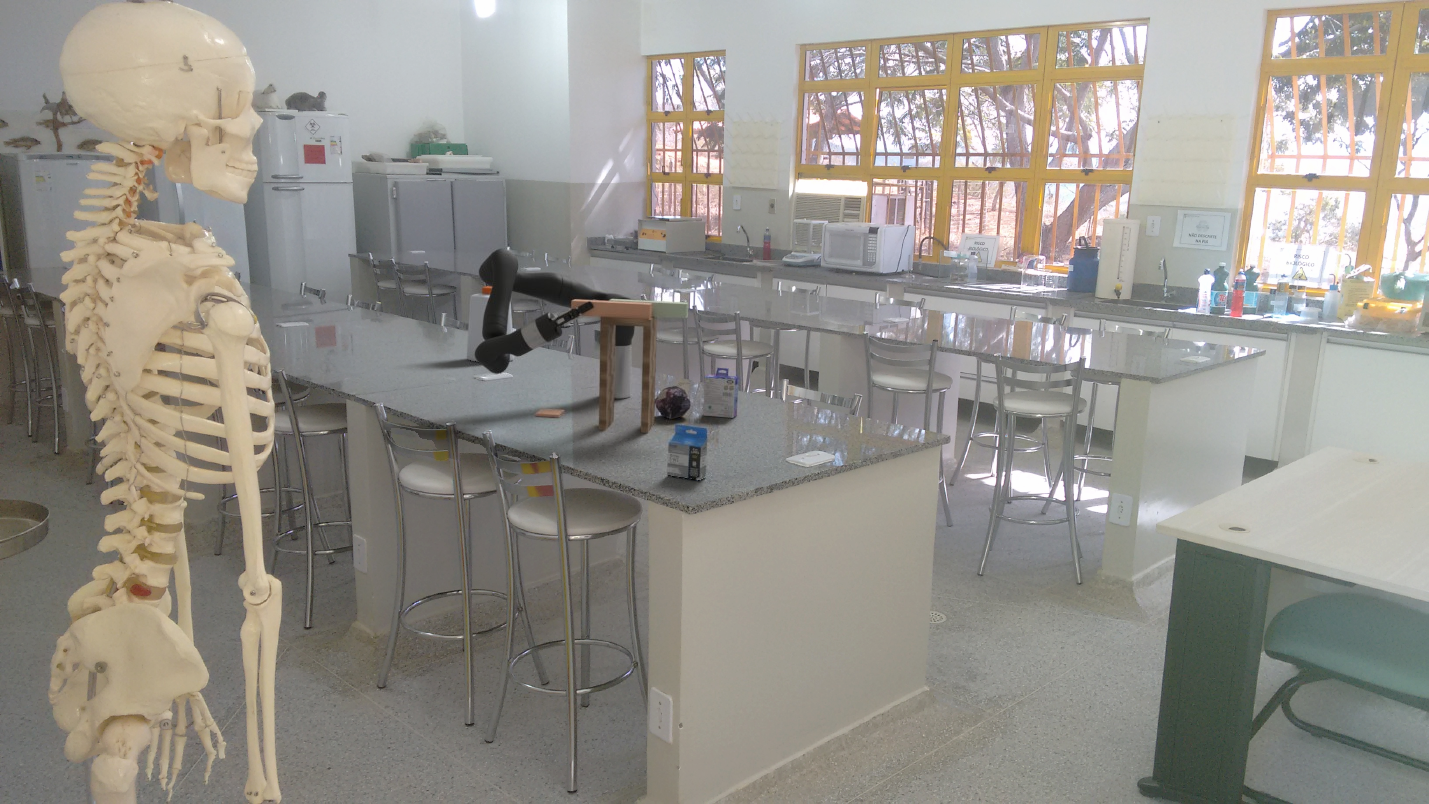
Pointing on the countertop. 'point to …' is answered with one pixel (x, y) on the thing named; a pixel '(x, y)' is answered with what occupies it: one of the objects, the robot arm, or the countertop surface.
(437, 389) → the countertop surface
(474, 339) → the plastic bottle
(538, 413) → the tile
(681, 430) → the label tape box
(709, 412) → the ink cartridge box
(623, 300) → the sage rod
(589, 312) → the terracotta rod
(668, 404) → the mineral specimen
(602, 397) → the wooden stand
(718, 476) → the countertop surface
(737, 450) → the countertop surface
